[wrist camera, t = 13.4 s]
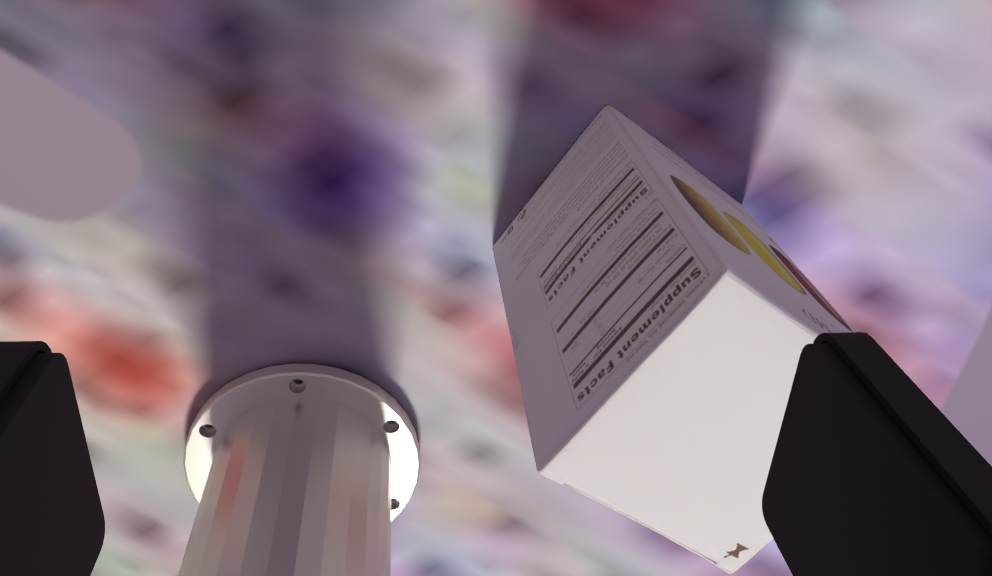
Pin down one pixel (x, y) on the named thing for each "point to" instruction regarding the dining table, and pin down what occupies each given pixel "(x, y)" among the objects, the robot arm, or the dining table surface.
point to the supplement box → (655, 339)
